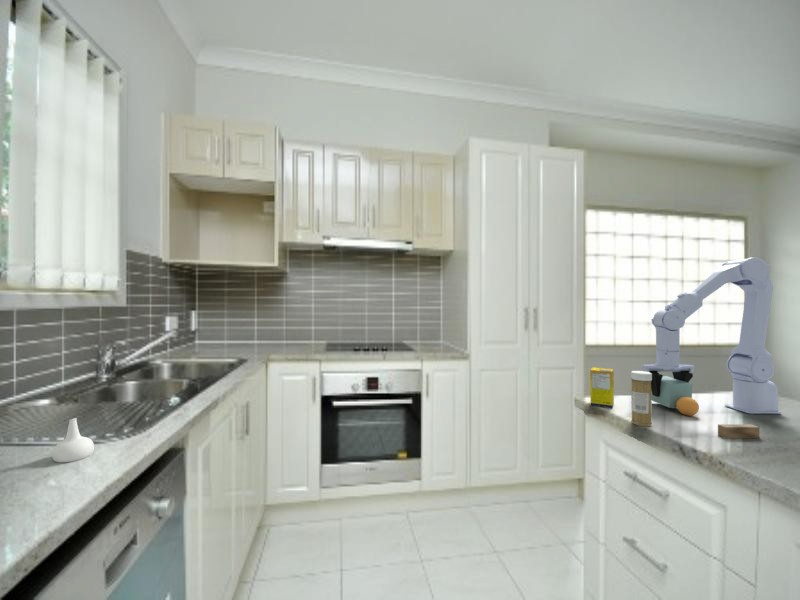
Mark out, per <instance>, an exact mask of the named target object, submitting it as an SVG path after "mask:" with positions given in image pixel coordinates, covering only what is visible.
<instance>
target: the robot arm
mask: <svg viewBox="0 0 800 600" xmlns="http://www.w3.org/2000/svg"><path fill="white" fill-rule="evenodd" d="M770 271H771V266H770V265H769V264H768V263H767V262H766V261H764V259H762V258H759V257H755V256H753V257H749V258H743V259H735V260H727V261H725V262H723V263H722V264H721V265H720V266H718V267H716V268H715V270H714V272H712V273H711V275H709V276H708V277H707V278H706V279H705V280H703V282H702V283H701V284H700V285H698V286H697V287H696V288H695V289H694V290H692V292H691V291H690V292H688V291H687V292H684V293H679V294H677V296H676V297H677V298H676V299H675V300H673V302H671V303H669V304H667V305H665V306H664V309H663V310H658V311H656V313H655V314H654V315H653V317H652V319H651V324H652V325H653V326H654V328H655V363H650V364H641V371H645V372H650V373H651V374H652V380H651V390H652V394H653V395H654V396H656V397H659V396H660V385H661V380H662V377H663V376H664V375H663V374H660V372H661V373H665V372H666V373H668V372H669V373H670V372H672V378H675V379H678V380H681V381H685V382H688V383H690V381H691V379H692V378H693V377H694V376H693V373H695V365H692V364H681V363H680V362H681V361H680V357H681V356H680V353H681V352H680V350H681V349H680V345H681V344H680V339H681V338H680V337H681V336H680V334H681V333H680V329H681V328H683V327H684V325H685V323H686V320H687V319H688V318H689V317H690V316H692V315H693V314H694V313H695V312H697V311H698V310H699V309H700V308H702V307H703V305H704V303H703V301H704V300H705V299H706V298H708V297H709V296H710V295H712V294H713V293H715V292H716V291H717V290H719V289H720V288H721V287H723V286H724V285H726V284H728V283H729V284H733V285H735V286H738V288H740V289H741V290H742V291H743V292H745V298H744V304H743V305H744V306H743V312H742V320H741V325H740V327H741V329H740V335H739V342H738V344H737V346H735V347H734V348H732V350H731V354H730V356H729V358H727V361H726V364H725V365H726V369H727V371H729V373H731V377H732V404H731V403H730V404H729V403H727V404H726V403H725V404H724V406H725V407H727V408H731V409H733V410H737V411H739V412H743V413H746V414H754V415H755V414H759V415H760V414H782V412H781V411H779V390H778V387H777V385H776V384H775V382H773V381H771V380H770V379H772V377H773V376H774V375H775V367H774V364H773V355H772V354H771V353H770V352H769V351H768V350H767V349H766V340H767V333H768V325H769V320H770V311H771V303H772V296H773V284H772V280H771V278H770Z"/></svg>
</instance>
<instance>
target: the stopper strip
mask: <svg viewBox="0 0 800 600" xmlns="http://www.w3.org/2000/svg"><path fill="white" fill-rule="evenodd" d="M717 435H718V436H719V437H722V438H724V439H760V426H756V425H754V424H751V423H750V424H748V423H746V424H745V423H744V424H739V423H738V424H735V423H734V424H733V423H732V424H731V423H730V424H725V423H724V424H723V423H721V424H717Z"/></svg>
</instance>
